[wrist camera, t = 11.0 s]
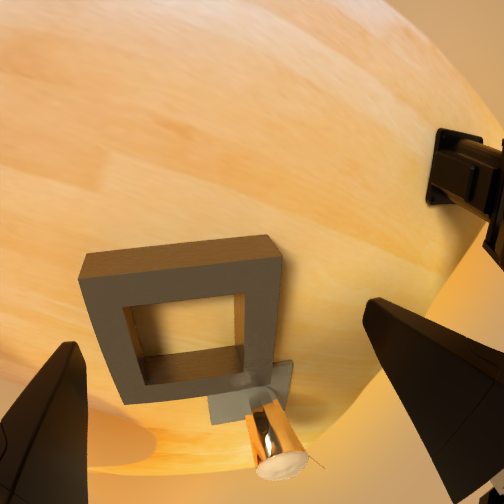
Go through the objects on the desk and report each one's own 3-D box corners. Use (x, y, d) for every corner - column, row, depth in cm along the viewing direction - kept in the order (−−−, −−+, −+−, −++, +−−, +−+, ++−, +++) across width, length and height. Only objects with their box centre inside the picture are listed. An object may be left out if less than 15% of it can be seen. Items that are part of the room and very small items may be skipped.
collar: (267, 234, 22) (282, 256, 19) (260, 358, 28) (270, 384, 25) (86, 253, 19) (77, 278, 16) (124, 377, 25) (124, 404, 22)
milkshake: (292, 392, 31) (330, 473, 22) (245, 414, 31) (274, 497, 22) (277, 370, 28) (319, 462, 20) (225, 395, 28) (254, 488, 20)
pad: (291, 359, 29) (293, 363, 28) (283, 407, 33) (284, 410, 32) (204, 375, 27) (205, 379, 26) (210, 421, 31) (211, 425, 30)
